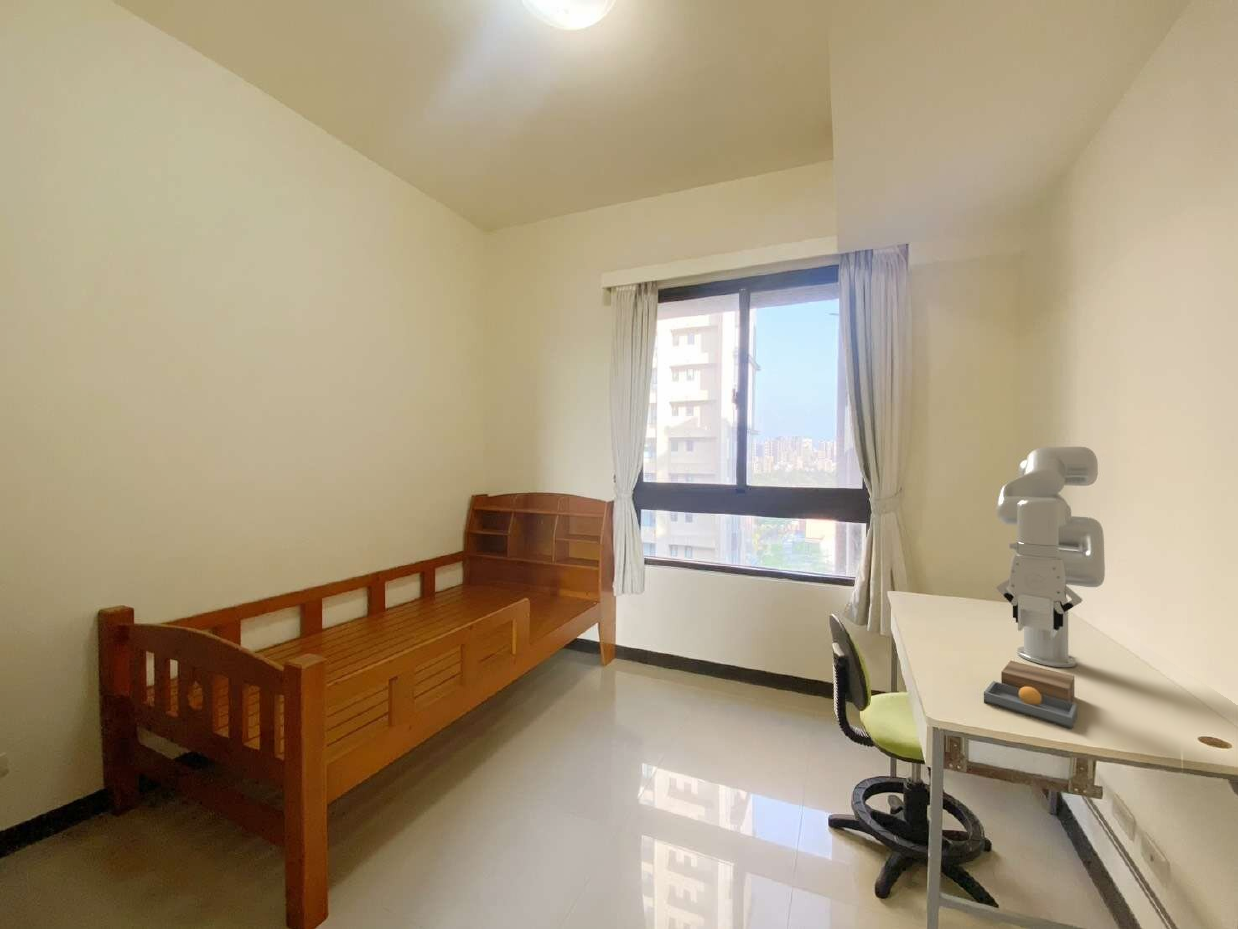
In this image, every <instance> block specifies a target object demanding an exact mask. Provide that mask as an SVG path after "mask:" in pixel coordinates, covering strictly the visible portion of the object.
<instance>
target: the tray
mask: <svg viewBox="0 0 1238 929" xmlns="http://www.w3.org/2000/svg"><path fill="white" fill-rule="evenodd" d="M1020 689H1021V688H1018V687H1014V686H1010V685H1007V684H1003V683H1001V682H999V681H995V680H993V681H992V682H991V683H990V684H989V685H988V687H987V688H986V689H985V691H984V692H983V703H984V704H987V705H990V706H994V707H997V708H1000V709H1003V710H1006V711H1011V712H1013V713H1016V714H1020V715H1023V716H1026V717H1030V718H1034V719H1035V720H1038V721H1039V720H1040V721H1043V722H1047V723H1050V724H1053V725H1056V726H1060V727H1062V728H1065V729H1069V730H1072V728H1073V727H1074V724H1075V723H1076V722H1075V721H1076V718H1077V716H1078V703H1076V702H1069V701H1065V700H1061V699H1058V698H1054V697H1051V696H1047V695H1043V694H1040V695H1041V698H1042V700H1041V703H1040V704H1039V705H1037V706H1033V705H1029V704H1026V703H1024V702H1023V701H1022V700H1021V699H1020V697H1019V690H1020Z"/></svg>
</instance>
